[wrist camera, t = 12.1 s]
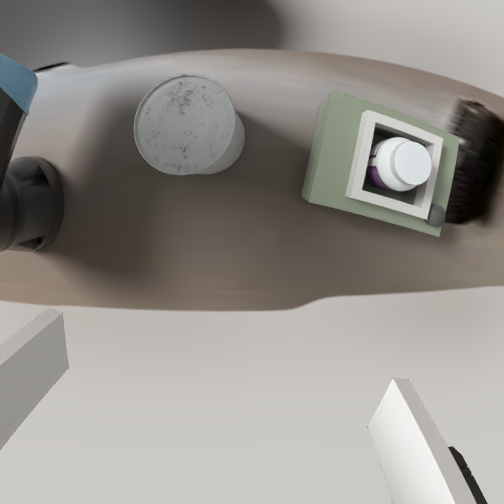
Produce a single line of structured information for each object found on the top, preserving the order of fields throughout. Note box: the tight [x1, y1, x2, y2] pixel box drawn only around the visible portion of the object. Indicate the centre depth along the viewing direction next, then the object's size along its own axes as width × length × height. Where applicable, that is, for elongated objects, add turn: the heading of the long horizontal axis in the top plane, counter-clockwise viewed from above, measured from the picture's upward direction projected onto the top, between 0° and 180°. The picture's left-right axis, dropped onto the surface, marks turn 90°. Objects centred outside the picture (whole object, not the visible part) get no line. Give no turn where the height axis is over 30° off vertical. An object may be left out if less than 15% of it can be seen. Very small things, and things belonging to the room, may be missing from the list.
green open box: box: [301, 91, 459, 237], centre depth 32 cm, size 16×12×10 cm
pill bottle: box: [364, 137, 432, 191], centre depth 29 cm, size 5×5×10 cm
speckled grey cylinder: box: [133, 74, 245, 175], centre depth 31 cm, size 10×10×12 cm
